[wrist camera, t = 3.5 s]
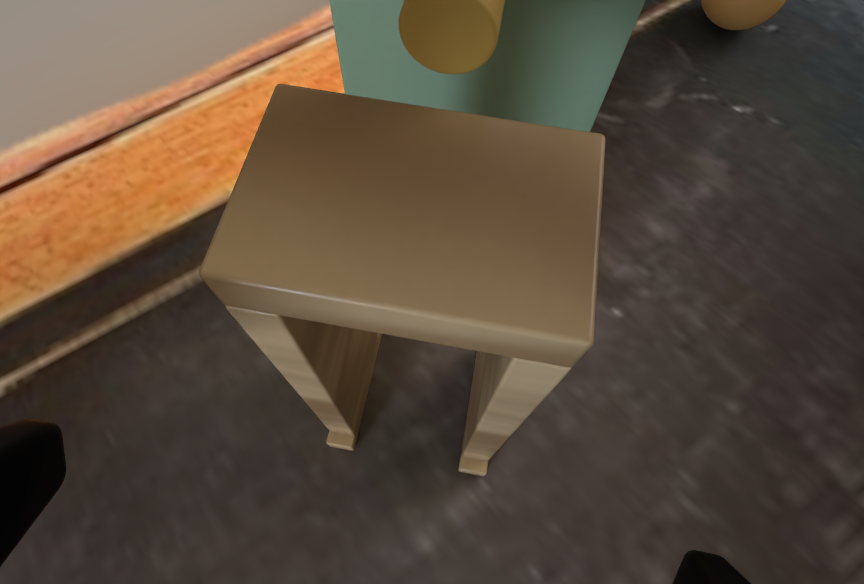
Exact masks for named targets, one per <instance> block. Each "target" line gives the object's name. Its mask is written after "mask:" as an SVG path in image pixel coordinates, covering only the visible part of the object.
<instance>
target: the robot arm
mask: <svg viewBox="0 0 864 584" xmlns="http://www.w3.org/2000/svg"><path fill="white" fill-rule="evenodd" d="M65 474H66V462H65V454H64V446H63V438H62V432H61V429H60V428H59V426H58V425H56V424H55V423H51V422H46V421H41V420H36V419H25V420H21V421H18V422H15V423H12V424H8V425H5V426H2V427H0V566H1V565H2V564H3V562H4V561H5V560H6V558H7V557H8V556H9V554H10V553H11V552H12V550H13V549H14V548H15V546H16V545H17V544H18V542H19V541H20V540H21V538H22V537H23V536H24V534H25V533H26V532H27V530H28V529H29V528H30V526H31V525H32V524H33V522H34V521H35V520H36V519H37V517H38V516H39V515H40V513H41V512H42V511H43V509H44V508H45V507H46V505H47V504H48V503H49V501H50V500H51V499H52V497H53V496H54V495H55V493H56V492H57V491H58V489H59V488H60V486H61V484H62V482H63V481H64V478H65ZM673 584H751V583H750V582H749V581H747V580H746V579H745V578H744V577H743V576H742V575H741V574H740V573H739V572H738V571H737V570H736V569H735V568H734V567H733V566H732V565H731V564H730V563H729V562H728V561H726V560H725V559H724V558H723V557H721V556H719V555H716V554H711V553H706V552H701V551H696V550H692V551H688V552H687V553H686V554H685V556H684V558H683V560H682V562H681V565H680V567H679V569H678V572H677V574H676V577H675V579H674V581H673Z"/></svg>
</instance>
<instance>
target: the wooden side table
mask: <svg viewBox="0 0 864 584" xmlns="http://www.w3.org/2000/svg"><path fill="white" fill-rule="evenodd" d="M604 158H605V136H604V135H602V134H598V133H592V132H585V131H579V130H572V129H566V128H560V127H553V126H547V125H540V124H534V123H528V122H521V121H515V120H508V119H502V118H496V117H489V116H483V115H477V114H470V113H464V112H457V111H451V110H445V109H438V108H432V107H425V106H419V105H413V104H406V103H400V102H393V101H387V100H381V99H374V98H368V97H361V96H355V95H349V94H342V93H336V92H329V91H323V90H317V89H310V88H304V87H297V86H291V85H285V84H278V85H277V86H276V87H275V90H274V92H273V94H272V97H271V99H270V102H269V104H268V107H267V109H266V111H265V114H264V116H263V119H262V121H261V123H260V126H259V128H258V131H257V133H256V135H255V138H254V140H253V143H252V145H251V147H250V150H249V152H248V155H247V157H246V160H245V162H244V164H243V167H242V169H241V172H240V174H239V176H238V179H237V181H236V184H235V186H234V188H233V191H232V193H231V196H230V198H229V201H228V203H227V205H226V208H225V210H224V213H223V215H222V217H221V220H220V222H219V225H218V227H217V229H216V232H215V234H214V237H213V239H212V241H211V244H210V246H209V249H208V251H207V254H206V256H205V258H204V261H203V263H202V266H201V268H200V277H201V278H202V279H203V280H204V282H205V283H206V284H207V285H208V286H209V288H210V289H211V290H212V291H213V292H214V294H215V295H216V296H217V297H218V298H219V299H220V301H221V302H222V303H223V304H225V307H226V309H227V310H228V311H229V312H230V313H231V315H232V316H233V317H234V318H235V319H236V320H237V322H238V323H239V324H240V325H241V326H242V328H243V329H244V330H245V331H246V332H247V334H248V335H249V336H250V337H251V338H252V339H253V341H254V342H255V343H256V344H257V345H258V347H259V348H260V349H261V350H262V351H263V352H264V354H265V355H266V356H267V357H268V358H269V360H270V361H271V362H272V363H273V364H274V365H275V367H276V368H277V369H278V370H279V371H280V373H281V374H282V375H283V376H284V377H285V379H286V380H287V381H288V382H289V383H290V384H291V386H292V387H293V388H294V389H295V390H296V392H297V393H298V394H299V395H300V396H301V397H302V399H303V400H304V401H305V402H306V403H307V405H308V406H309V407H310V408H311V409H312V410H313V412H314V413H315V414H316V415H317V416H318V418H319V419H320V420H321V421H322V422H323V423H324V425H325V426H326V427H327V428H328V429H329V433H328V437H327V441H326V443H327V444H328V445H329V446H330V447H335V448H340V449H345V450H350V451H354V450H355V446H356V442H357V437H358V433H359V429H360V425H361V421H362V416H363V412H364V408H365V404H366V400H367V395H368V391H369V387H370V383H371V379H372V374H373V370H374V366H375V362H376V358H377V353H378V349H379V345H380V341H381V337H382V334H387V335H392V336H398V337H403V338H409V339H414V340H420V341H425V342H431V343H436V344H442V345H448V346H453V347H459V348H464V349H470V350H475V351H477V352H476V359H475V365H474V372H473V378H472V385H471V391H470V397H469V404H468V410H467V417H466V423H465V430H464V436H463V443H462V449H461V455H460V462H459V468H458V471H459V472H463V473H468V474H474V475H479V476H484V475H485V474H486V473H487V466H488V460H489V459H490V458H491V457H492V456H493V455H494V454H495V452H496V451H497V450H498V449H499V448H500V447H501V446H502V445H503V444H504V443H505V441H506V440H507V439H508V438H509V437H510V436H511V435H512V434H513V433H514V432H515V430H516V429H517V428H518V427H519V426H520V425H521V424H522V423H523V422H524V421H525V419H526V418H527V417H528V416H529V415H530V414H531V413H532V412H533V411H534V410H535V408H536V407H537V406H538V405H539V404H540V403H541V402H542V401H543V400H544V399H545V397H546V396H547V395H548V394H549V393H550V392H551V391H552V390H553V389H554V388H555V386H556V385H557V384H558V383H559V382H560V381H561V380H562V379H563V378H564V377H565V375H566V374H567V373H568V372H569V371H570V370H571V368H572V367H573V366H574V365H575V364H576V363H577V362H578V361H579V360H580V358H581V357H582V356H583V355H584V354H585V353H586V352H587V351H588V350H589V348H590V347H591V346H592V344H593V343H594V332H595V315H596V297H597V280H598V263H599V245H600V228H601V211H602V193H603V176H604Z"/></svg>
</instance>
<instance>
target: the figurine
mask: <svg viewBox="0 0 864 584" xmlns="http://www.w3.org/2000/svg"><path fill="white" fill-rule="evenodd" d="M785 2H786V0H701V3H702V7H703V10H704V12H705V14H706V15H707V17H708V18H709V19H710V20H711V21H712V22H713V23H714V24H716V25H717V26H719V27H721V28H724V29H728V30H744V29H749V28H752V27H755V26H757V25H759V24H761V23H763V22H765V21H766V20H768V19H769V18H771V17H772V16H773V15H774V14H775V13H776V12H777V11H778V10H779V9H780V8H781V7H782V6H783V5H784V3H785Z"/></svg>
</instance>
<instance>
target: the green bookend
mask: <svg viewBox="0 0 864 584" xmlns="http://www.w3.org/2000/svg"><path fill="white" fill-rule="evenodd" d="M645 1H646V0H330V6H331V12H332V18H333V24H334V30H335V36H336V42H337V48H338V54H339V60H340V66H341V72H342V78H343V84H344V90H345V94H349V95H355V96H361V97H368V98H374V99H381V100H387V101H393V102H400V103H406V104H413V105H419V106H425V107H432V108H438V109H445V110H451V111H457V112H464V113H470V114H477V115H483V116H489V117H496V118H502V119H508V120H515V121H521V122H528V123H534V124H540V125H547V126H553V127H560V128H566V129H572V130H579V131H585V132H590V131H591V128H592V126H593V124H594V121H595V119H596V117H597V114H598V112H599V109H600V107H601V105H602V102H603V100H604V98H605V95H606V93H607V91H608V88H609V86H610V83H611V81H612V79H613V76H614V74H615V72H616V69H617V67H618V65H619V62H620V60H621V57H622V55H623V53H624V50H625V48H626V46H627V43H628V41H629V39H630V36H631V34H632V31H633V29H634V27H635V24H636V22H637V20H638V17H639V15H640V12H641V10H642V8H643V5H644V3H645Z"/></svg>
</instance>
